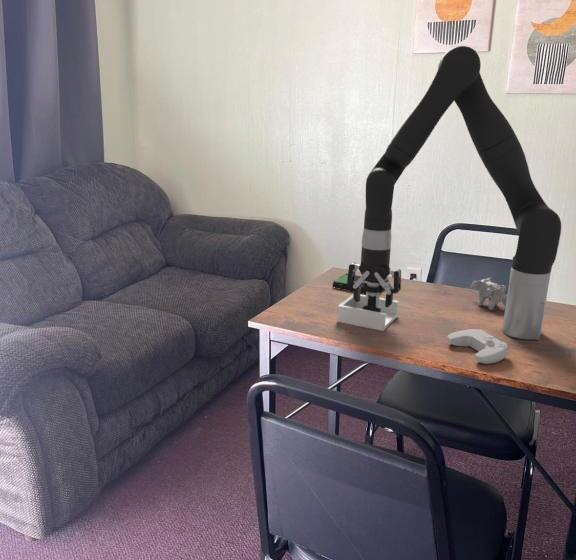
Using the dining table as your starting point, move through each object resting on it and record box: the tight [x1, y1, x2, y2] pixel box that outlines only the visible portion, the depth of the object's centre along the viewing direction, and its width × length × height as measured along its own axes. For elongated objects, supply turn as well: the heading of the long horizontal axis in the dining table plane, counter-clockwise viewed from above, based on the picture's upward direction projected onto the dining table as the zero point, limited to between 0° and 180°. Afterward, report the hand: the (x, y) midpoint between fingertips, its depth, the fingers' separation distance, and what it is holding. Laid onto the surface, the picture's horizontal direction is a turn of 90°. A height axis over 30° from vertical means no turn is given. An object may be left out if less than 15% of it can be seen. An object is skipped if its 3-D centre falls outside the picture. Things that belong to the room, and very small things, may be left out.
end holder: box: [336, 293, 399, 332], centre depth 152 cm, size 13×12×4 cm
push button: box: [359, 281, 383, 313], centre depth 151 cm, size 7×5×10 cm
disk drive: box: [332, 273, 385, 295], centre depth 179 cm, size 10×3×15 cm
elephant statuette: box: [469, 276, 507, 311], centre depth 165 cm, size 9×12×8 cm
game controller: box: [446, 328, 510, 365], centre depth 133 cm, size 14×4×10 cm
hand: (372, 303), depth 151 cm, fingers open, 8 cm apart
